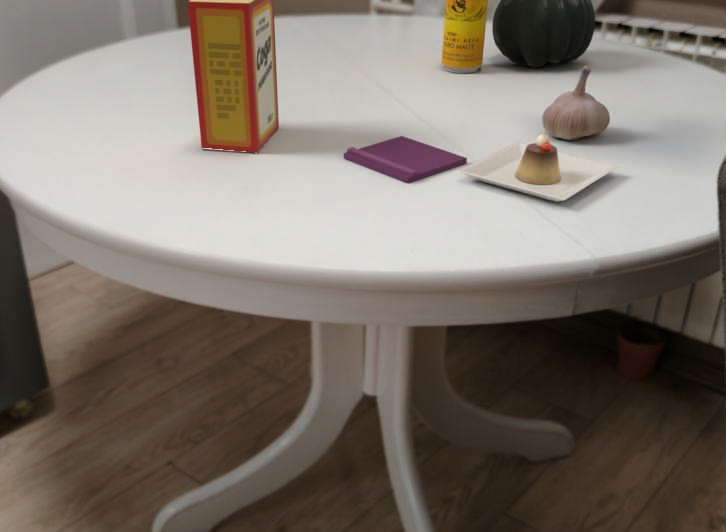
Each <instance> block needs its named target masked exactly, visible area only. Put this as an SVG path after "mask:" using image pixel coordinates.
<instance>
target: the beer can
mask: <svg viewBox="0 0 726 532" xmlns="http://www.w3.org/2000/svg"><path fill="white" fill-rule="evenodd" d="M488 3H489V0H445V3H444V5H445V6H444V20H443V21H444V22H443V33H442V48H441V49H442V51H441V52H442V54H441V64H442V65H443V67H444V70H445V71H447V72H450V73H455V74H471V73H475V72H477V71H479V68H481V67H482V66H483V59H484V50H485V49H484V48H485V37H486V26H487V17H488V16H487V15H488V5H489V4H488Z"/></svg>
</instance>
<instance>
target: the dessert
mask: <svg viewBox="0 0 726 532" xmlns="http://www.w3.org/2000/svg"><path fill="white" fill-rule="evenodd" d="M550 137H551V134H549V135H547V133H545V132H542V133H541V134H540V135H538V137H537V138H536V141H535V143H530V144H528V143H525V142H520V141H516V142H514V143H512V144H510V145H508V146H506V147H503V148H501V149H500V150H497V151H495V152H493V153H491V154H489V155H487V156H485V157H483V158H481V159H479V160H477V161H475V162H473V163H470V164H469V165H467V166H464V167H463V168H461V169H458V170H457V172H459V173H460V174H463V175H465V176H467V177H469V178H471V179H474V180H475V181H479V182H481V183H486V184H490V185H493V186H497V187H500V188H504V189H507V190H511V191H514V192H519V193H521V194H526V195H529V196H532V197H533V196H534V197H537V198H540V199H544V200H547V201H551V202H554V203H558V202H562V201H566V200H568V199H570V198H572V197H573V196H574V195H576V194H578V193H579V192H581V191H583V190H585V188H587V187H589V186H591V185H592V184H593V183H595V182H597V181H599V180H600V179H602V178H603V177H605V176H606V175H608V174H610V173H611V172H613V171H615V170H616V169H618V168H619V165H618V164H617V165H616V164H612V163H609V162H608V163H607V162H605V161H599V160H595V159H591V158H587V157H583V156H578V155H574V154H570V153H565V152H562V151H558V148H557V147H556V146H555V145H552V144H551V138H550Z"/></svg>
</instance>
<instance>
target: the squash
mask: <svg viewBox="0 0 726 532" xmlns="http://www.w3.org/2000/svg"><path fill="white" fill-rule="evenodd" d="M593 5H594V4H593V2H592V0H500V1H499V3H497V5H496V7H495V9H494V10H495V11H494V14H493V16H492V29H491V30H492V31H491V32H492V37H493V41H494V44H495V46H496V48H497V49H498V50H499V52H500V53H501V54H502V55H503V56H504V57H505V58H507V59H508V60H509V61H510V62H511V63H512V64H514V65H517V66H529V67H531V68H540V67H543V66H544V65H545V64H547V61H548V62H549V63H550V64H554V63H558V64H568V63H572V62H573V61H575V60H577V59H579V58H580V57H581V56H583V55H584V54H585V52H587V50H588V48H589V47H590V45H591V43H592V41H593V37H594V32H595V26H596V12H595V9H594V6H593Z"/></svg>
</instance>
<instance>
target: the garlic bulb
mask: <svg viewBox="0 0 726 532" xmlns="http://www.w3.org/2000/svg"><path fill="white" fill-rule="evenodd" d="M591 70H592V69H591V67H589V66H586V65H585V66H583V67H582V69H581V72H580V75H579V79H578V82H577V84H576V85H575V88H574V90H572V91H571V90H569V91H565V92H564V93H562V94H560V95H558V96H557V97H556V99H555V100H553V102H552V103H551V104H550V105H549V106H547V107H546V108H545V110H544V111H543V114H542V117H541V119H542V127H543V129H544V131H545V132H546V134H548V135H550V134H551V135H550V137H553V138H556V139H557V138H558V139H563V140H567V141H572V140H574V141H575V140H578V139H580V138H583V137H590V136H592V135H598V134H601V133H603V132H605V130H606V129H607V128H608V126H609V124H610V121H611V116H610V112H609V110H608V108H607V107H606V106H605V105H604V104H603V103H602V102H600V101H598V100H597V99H596V98H595V97H594V95H592V94H590V93H588V92H586V84H587V81H588V77H589V76H590V74H591Z"/></svg>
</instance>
